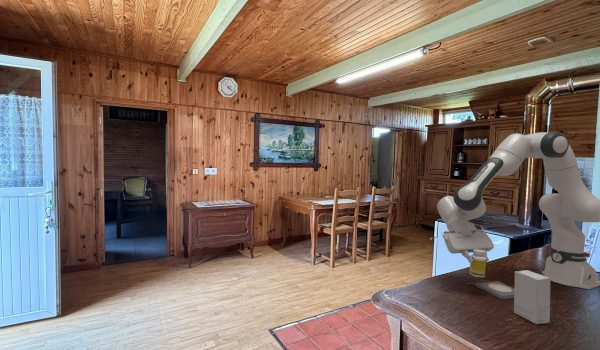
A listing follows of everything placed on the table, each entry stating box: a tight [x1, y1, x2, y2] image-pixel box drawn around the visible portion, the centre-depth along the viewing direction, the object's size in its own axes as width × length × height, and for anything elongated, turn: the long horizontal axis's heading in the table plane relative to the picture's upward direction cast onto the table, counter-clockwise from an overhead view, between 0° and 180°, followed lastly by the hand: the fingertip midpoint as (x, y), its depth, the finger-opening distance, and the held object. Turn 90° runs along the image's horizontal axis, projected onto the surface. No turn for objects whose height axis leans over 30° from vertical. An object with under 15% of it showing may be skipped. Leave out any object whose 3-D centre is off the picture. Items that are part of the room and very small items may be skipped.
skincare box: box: [513, 269, 551, 325], centre depth 101 cm, size 8×6×15 cm
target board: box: [475, 280, 514, 300], centre depth 122 cm, size 12×12×1 cm
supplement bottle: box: [469, 249, 487, 278], centre depth 118 cm, size 5×5×10 cm
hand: (479, 261), depth 118 cm, fingers closed on supplement bottle, 5 cm apart
